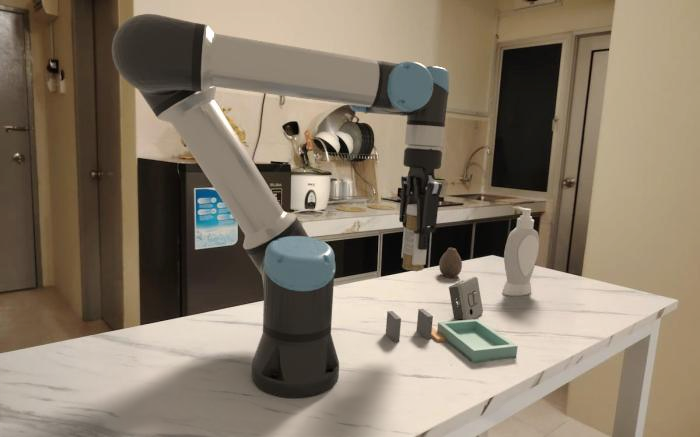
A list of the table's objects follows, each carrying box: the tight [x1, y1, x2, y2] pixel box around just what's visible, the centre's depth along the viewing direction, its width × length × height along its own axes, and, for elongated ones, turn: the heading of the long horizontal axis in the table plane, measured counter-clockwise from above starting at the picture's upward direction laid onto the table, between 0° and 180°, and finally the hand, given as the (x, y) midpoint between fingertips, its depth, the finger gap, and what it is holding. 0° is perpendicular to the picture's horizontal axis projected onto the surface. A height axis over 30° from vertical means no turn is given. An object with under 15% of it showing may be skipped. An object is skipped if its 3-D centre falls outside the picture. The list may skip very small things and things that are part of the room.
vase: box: [438, 247, 463, 278], centre depth 148 cm, size 7×7×9 cm
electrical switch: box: [448, 276, 484, 320], centre depth 115 cm, size 9×5×9 cm, turn 141°
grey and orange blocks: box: [385, 308, 447, 343], centre depth 102 cm, size 11×8×5 cm
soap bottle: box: [501, 206, 540, 297], centre depth 135 cm, size 13×8×24 cm, turn 117°
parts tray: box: [436, 318, 518, 364], centre depth 99 cm, size 10×14×2 cm
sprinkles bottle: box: [401, 204, 425, 272], centre depth 98 cm, size 5×5×14 cm
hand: (413, 260), depth 99 cm, fingers closed on sprinkles bottle, 4 cm apart
